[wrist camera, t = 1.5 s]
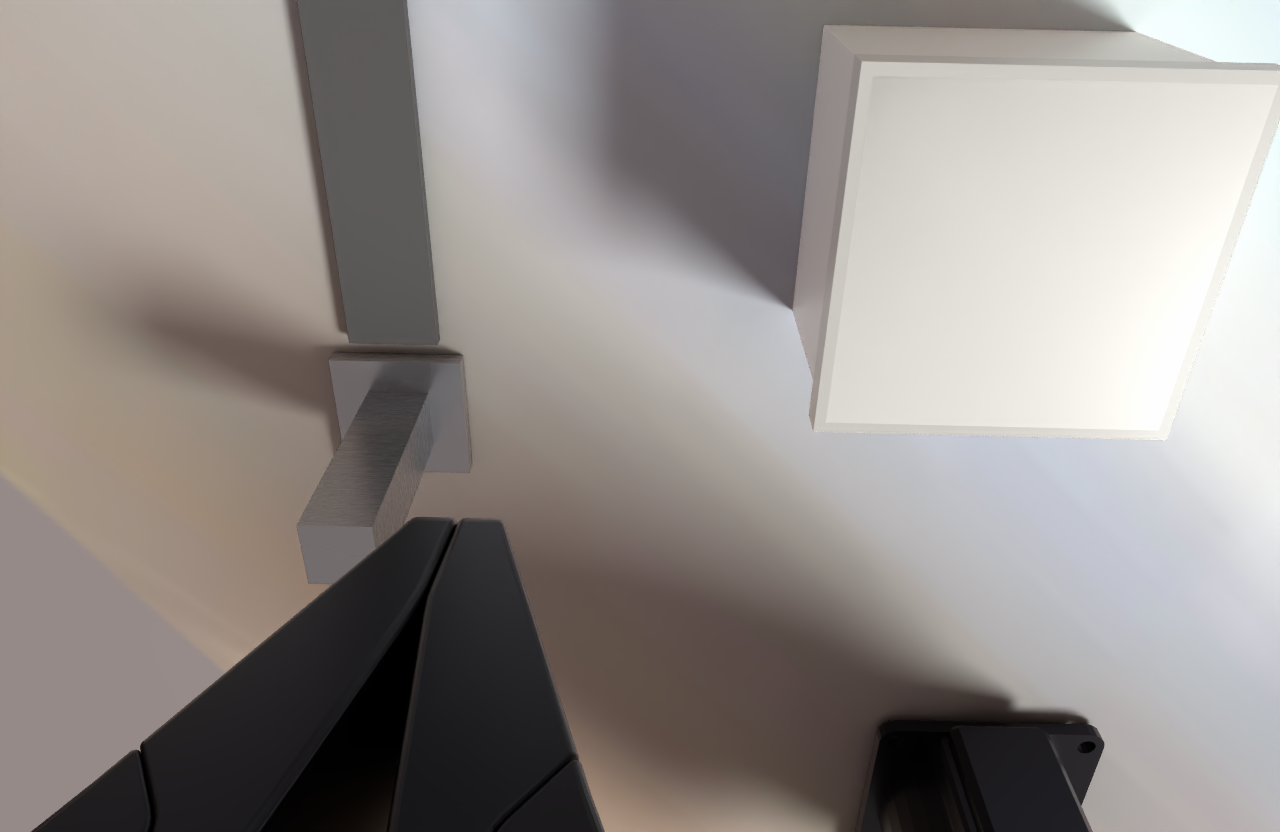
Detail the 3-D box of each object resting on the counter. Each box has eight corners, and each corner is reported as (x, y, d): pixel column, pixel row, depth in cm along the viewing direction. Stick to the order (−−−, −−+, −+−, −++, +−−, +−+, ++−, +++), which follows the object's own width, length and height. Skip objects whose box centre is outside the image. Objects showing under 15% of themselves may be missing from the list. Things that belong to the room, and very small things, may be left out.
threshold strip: (439, 339, 22) (437, 345, 22) (352, 337, 22) (349, 343, 22) (373, -347, 16) (368, -350, 15) (250, -349, 16) (243, -352, 15)
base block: (1065, 323, 22) (1166, 440, 17) (782, 316, 22) (812, 431, 17) (1146, 20, 18) (1297, 71, 14) (813, 12, 18) (861, 61, 14)
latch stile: (472, 463, 24) (426, 617, 19) (351, 460, 24) (274, 614, 19) (462, 355, 22) (410, 493, 17) (333, 352, 22) (245, 489, 17)
